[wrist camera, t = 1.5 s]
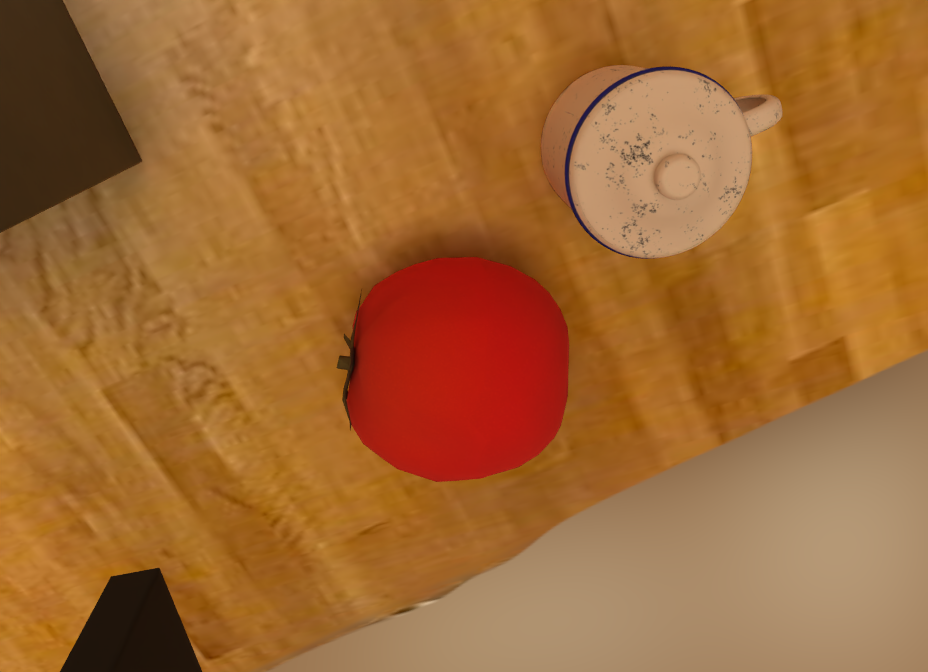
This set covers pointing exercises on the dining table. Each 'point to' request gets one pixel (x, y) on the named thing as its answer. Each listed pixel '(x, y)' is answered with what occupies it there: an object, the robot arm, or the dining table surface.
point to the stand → (52, 113)
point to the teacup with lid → (652, 155)
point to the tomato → (457, 369)
